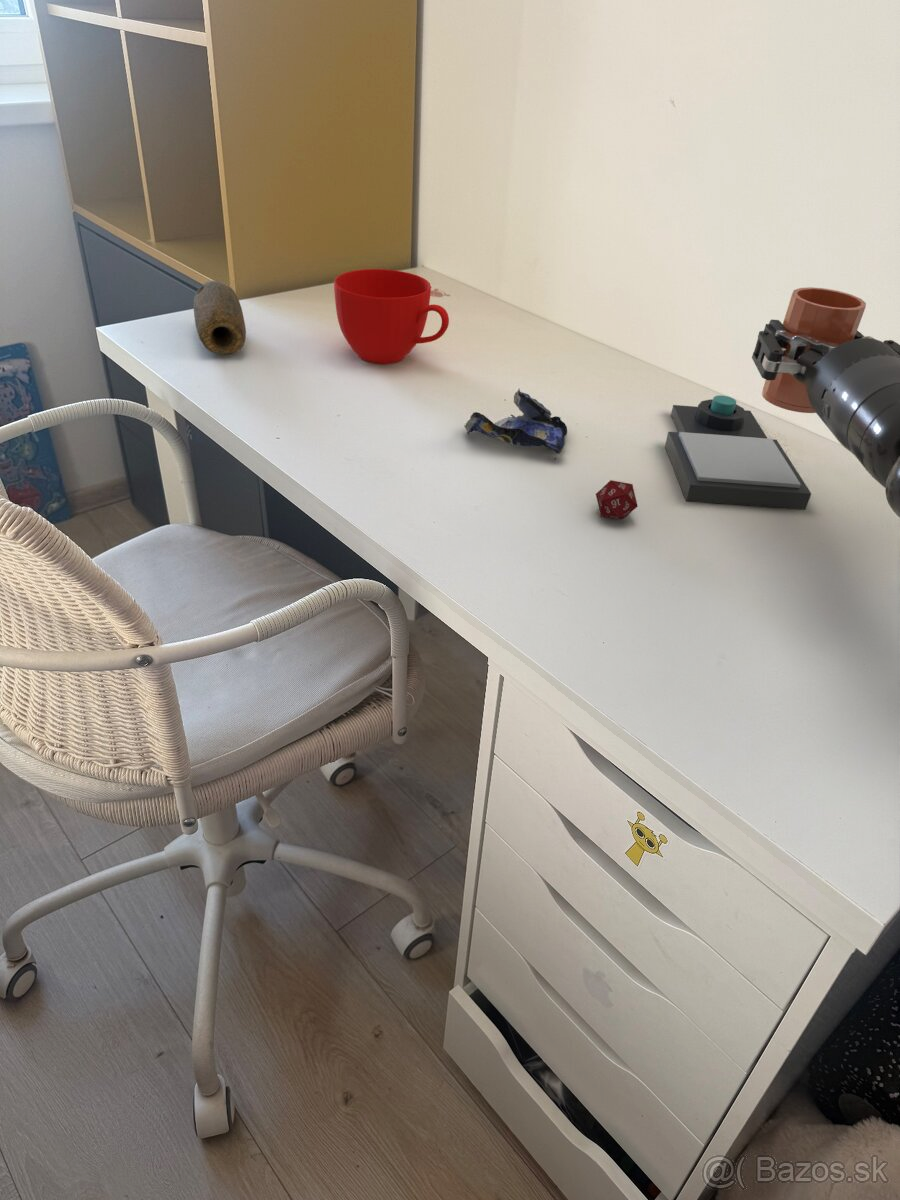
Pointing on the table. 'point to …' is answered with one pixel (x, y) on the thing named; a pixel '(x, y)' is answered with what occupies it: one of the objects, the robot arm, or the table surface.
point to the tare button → (723, 405)
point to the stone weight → (219, 318)
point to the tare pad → (716, 421)
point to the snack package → (523, 425)
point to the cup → (819, 318)
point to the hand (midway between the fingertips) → (806, 332)
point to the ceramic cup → (384, 313)
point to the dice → (616, 500)
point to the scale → (735, 470)
